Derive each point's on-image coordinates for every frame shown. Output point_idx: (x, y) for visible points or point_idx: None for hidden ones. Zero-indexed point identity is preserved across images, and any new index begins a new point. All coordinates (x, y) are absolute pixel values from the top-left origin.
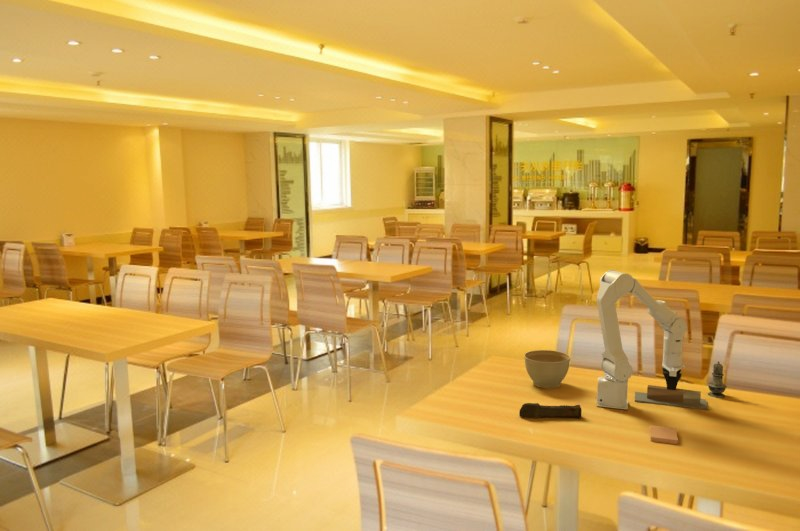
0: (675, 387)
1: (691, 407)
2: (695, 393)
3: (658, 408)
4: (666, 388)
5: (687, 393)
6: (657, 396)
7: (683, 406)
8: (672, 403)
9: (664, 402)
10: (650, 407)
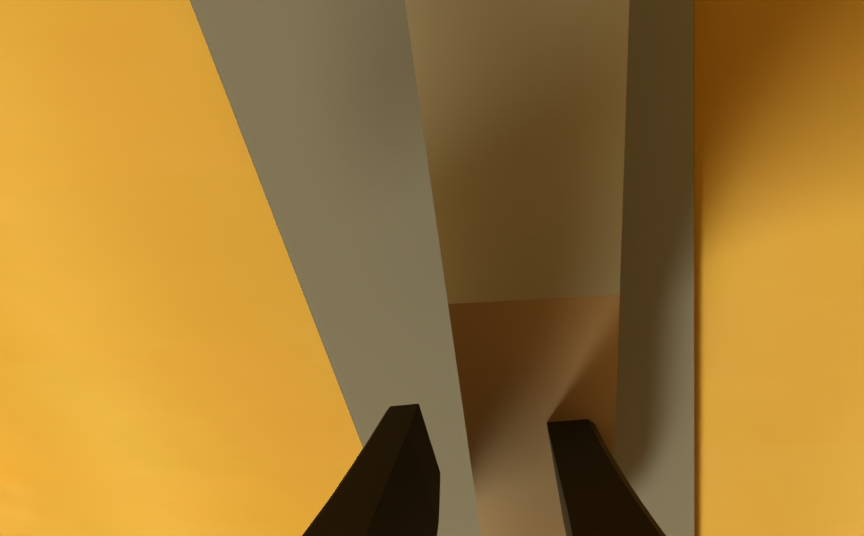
0: (619, 472)
1: (689, 50)
2: (624, 33)
3: (857, 419)
4: (558, 529)
5: (612, 208)
6: None
7: (687, 170)
8: (654, 315)
9: (651, 394)
10: (842, 483)
